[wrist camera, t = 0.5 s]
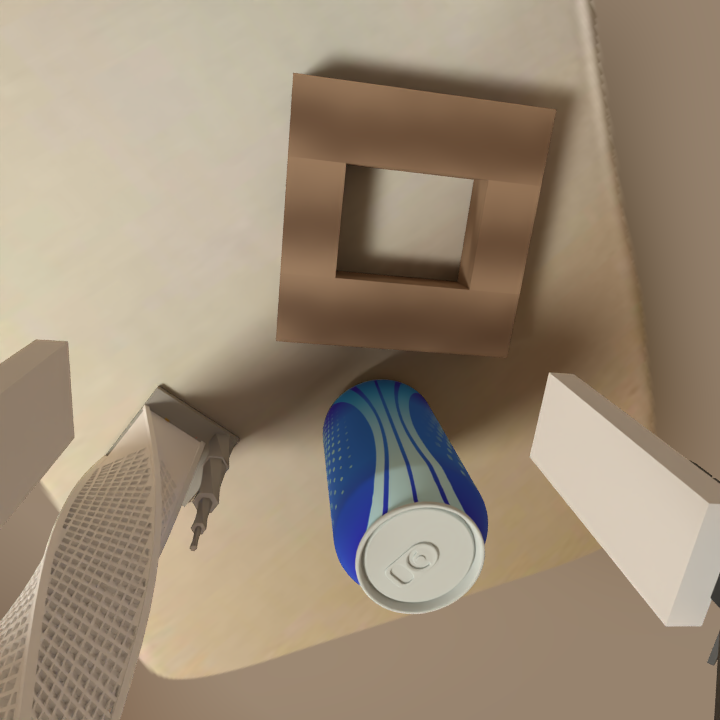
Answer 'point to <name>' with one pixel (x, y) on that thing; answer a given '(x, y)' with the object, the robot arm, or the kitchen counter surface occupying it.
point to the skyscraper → (108, 566)
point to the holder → (419, 155)
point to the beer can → (401, 500)
